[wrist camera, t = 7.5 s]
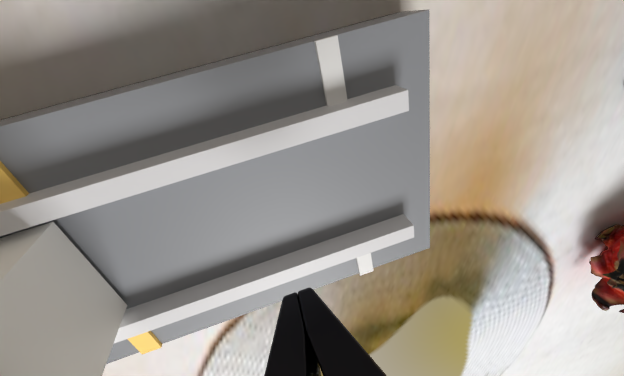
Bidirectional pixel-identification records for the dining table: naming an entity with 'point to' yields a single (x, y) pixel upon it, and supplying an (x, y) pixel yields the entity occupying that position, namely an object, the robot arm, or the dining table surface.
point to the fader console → (235, 176)
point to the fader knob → (53, 307)
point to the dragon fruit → (610, 269)
